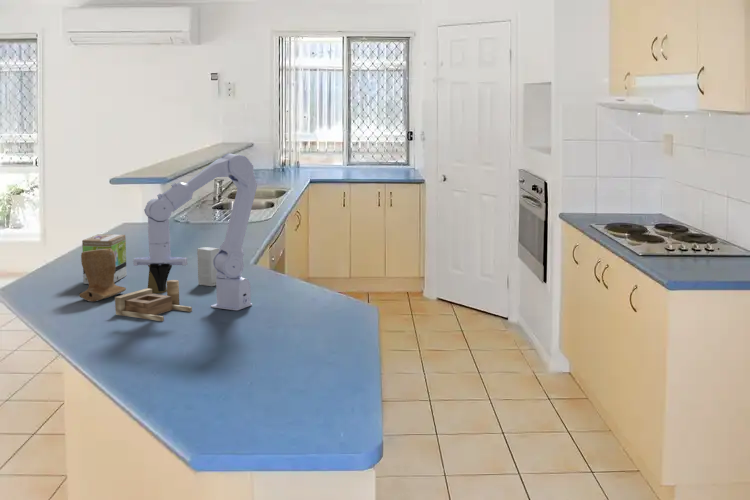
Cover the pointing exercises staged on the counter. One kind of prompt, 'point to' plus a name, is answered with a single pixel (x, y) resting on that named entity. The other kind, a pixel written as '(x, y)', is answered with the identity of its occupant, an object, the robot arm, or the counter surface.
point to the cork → (153, 284)
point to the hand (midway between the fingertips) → (161, 290)
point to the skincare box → (206, 266)
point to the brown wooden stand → (99, 274)
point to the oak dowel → (173, 291)
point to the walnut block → (149, 304)
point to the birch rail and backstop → (122, 311)
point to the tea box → (106, 242)
